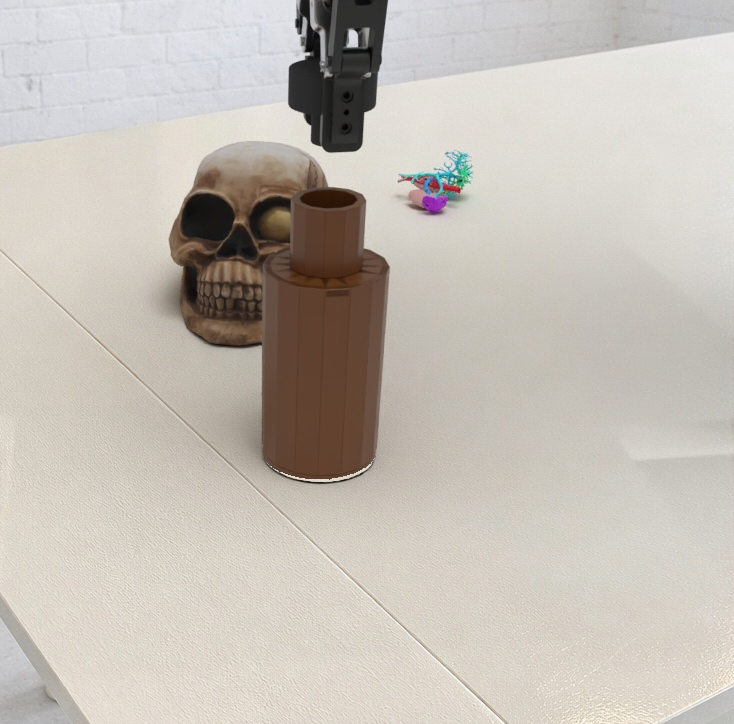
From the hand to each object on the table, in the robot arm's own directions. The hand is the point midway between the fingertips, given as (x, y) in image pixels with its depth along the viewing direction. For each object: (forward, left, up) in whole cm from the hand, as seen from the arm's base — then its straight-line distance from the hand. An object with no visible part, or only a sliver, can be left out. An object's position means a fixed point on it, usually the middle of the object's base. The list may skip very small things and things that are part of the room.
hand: (331, 135), depth 63 cm
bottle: (0, 0, -21) cm, 21 cm away
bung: (0, 0, 0) cm, 0 cm away
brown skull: (+1, -26, -21) cm, 33 cm away
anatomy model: (-20, -48, -21) cm, 56 cm away
